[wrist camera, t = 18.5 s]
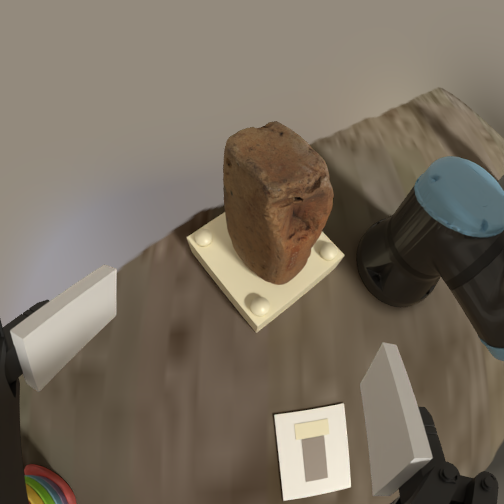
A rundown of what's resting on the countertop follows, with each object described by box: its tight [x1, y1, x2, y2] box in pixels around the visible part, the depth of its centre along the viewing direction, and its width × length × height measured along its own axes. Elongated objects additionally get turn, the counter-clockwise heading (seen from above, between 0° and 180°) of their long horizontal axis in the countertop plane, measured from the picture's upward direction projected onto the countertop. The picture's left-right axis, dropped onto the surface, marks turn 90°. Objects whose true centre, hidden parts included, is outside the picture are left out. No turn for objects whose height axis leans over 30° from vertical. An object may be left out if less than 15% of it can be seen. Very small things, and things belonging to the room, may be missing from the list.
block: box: [223, 121, 334, 285], centre depth 33 cm, size 11×8×20 cm
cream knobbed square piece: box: [187, 212, 344, 333], centre depth 45 cm, size 16×16×6 cm
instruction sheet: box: [274, 403, 351, 501], centre depth 35 cm, size 10×14×1 cm
